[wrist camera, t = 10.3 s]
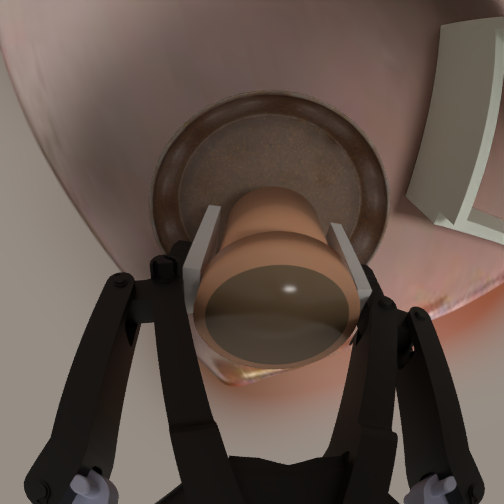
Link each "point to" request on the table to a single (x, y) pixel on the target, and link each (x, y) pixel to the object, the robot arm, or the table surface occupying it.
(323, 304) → the terracotta pot
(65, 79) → the table surface
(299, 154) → the plant saucer
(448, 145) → the frame
